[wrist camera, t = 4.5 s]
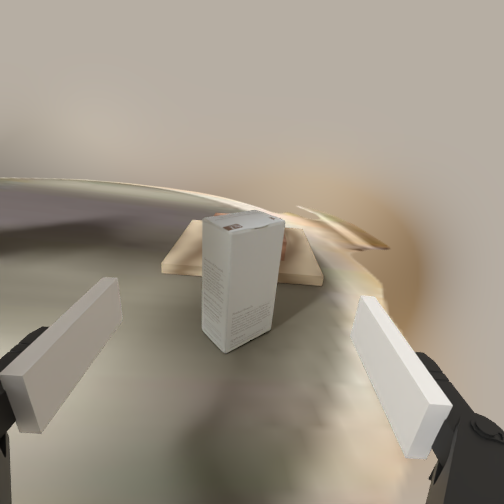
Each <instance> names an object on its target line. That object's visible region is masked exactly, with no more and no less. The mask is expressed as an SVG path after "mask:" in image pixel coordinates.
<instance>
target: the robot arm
mask: <svg viewBox="0 0 504 504" xmlns="http://www.w3.org/2000/svg"><path fill="white" fill-rule="evenodd" d="M122 321H123V316H122V308H121V300H120V292H119V284H118V278H113V277H103V278H102V279H100V280H99V281H98V282H97V283H96V284H95V285H94V286H93V287H92V288H91V289H90V290H89V291H88V292H86V293H85V294H84V295H83V296H82V297H81V298H80V299H79V300H78V301H77V302H76V303H75V304H74V305H72V306H71V307H70V308H69V309H68V310H67V311H66V312H65V313H64V314H63V315H62V316H61V317H60V318H58V319H57V320H56V321H55V322H54V323H53V324H52V325H51V326H50V327H41V328H39V329H37V330H35V331H33V332H32V333H30V334H28V335H27V336H26V337H25V338H24V339H23V340H21V341H20V342H19V344H18V345H16V346H15V347H14V348H12V349H11V350H10V352H8V353H7V354H6V355H4V356H3V357H2V358H1V359H0V504H12V502H11V475H10V449H9V436H8V434H7V431H8V429H9V428H10V427H11V426H12V425H13V424H14V422H15V421H16V424H17V426H18V429H19V432H21V433H36V434H42V432H43V431H44V429H45V428H46V427H47V425H48V424H49V422H50V421H51V420H52V418H53V417H54V415H55V414H56V413H57V411H58V410H59V409H60V407H61V406H62V404H63V403H64V402H65V400H66V399H67V397H68V396H69V395H70V393H71V392H72V390H73V389H74V388H75V386H76V385H77V384H78V382H79V381H80V379H81V378H82V377H83V375H84V374H85V372H86V371H87V370H88V368H89V367H90V365H91V364H92V363H93V361H94V360H95V359H96V357H97V356H98V354H99V353H100V352H101V350H102V349H103V347H104V346H105V345H106V343H107V342H108V340H109V339H110V338H111V336H112V335H113V334H114V332H115V331H116V329H117V328H118V327H119V325H120V324H121V322H122ZM350 337H351V340H352V342H353V344H354V346H355V348H356V351H357V353H358V355H359V357H360V359H361V362H362V364H363V366H364V368H365V370H366V373H367V375H368V377H369V379H370V381H371V383H372V386H373V388H374V390H375V392H376V394H377V397H378V399H379V401H380V403H381V405H382V408H383V410H384V412H385V414H386V416H387V419H388V421H389V423H390V425H391V427H392V430H393V432H394V434H395V436H396V438H397V441H398V443H399V445H400V447H401V449H402V451H403V454H404V456H405V458H413V459H427V457H428V455H429V453H430V451H431V449H433V451H434V453H435V455H436V457H437V458H438V461H437V464H436V465H435V467H434V469H433V471H432V473H431V475H430V477H429V480H431V485H430V489H429V493H428V497H427V501H426V504H504V431H503V430H502V429H501V428H500V427H499V426H497V425H496V424H495V423H494V422H492V421H491V420H489V419H488V418H486V417H484V416H482V415H479V414H477V413H474V412H473V410H472V409H471V408H470V407H469V405H468V404H467V403H466V402H465V400H464V399H463V398H462V396H461V395H460V394H459V393H458V391H457V390H456V389H455V387H454V386H453V385H452V383H451V382H449V380H448V378H447V377H446V376H445V374H443V373H442V371H441V369H440V368H439V367H438V365H437V364H436V363H435V362H434V361H433V360H432V359H431V358H429V357H428V356H427V355H426V354H424V353H421V352H414V351H413V349H412V348H411V347H410V345H409V344H408V342H407V341H406V340H405V338H404V337H403V335H402V334H401V333H400V331H399V330H398V328H397V327H396V326H395V324H394V323H393V321H392V320H391V319H390V317H389V316H388V314H387V313H386V312H385V310H384V309H383V308H382V306H381V305H380V303H379V302H378V301H377V299H376V298H375V297H374V296H360V300H359V304H358V308H357V311H356V315H355V319H354V323H353V327H352V331H351V335H350Z"/></svg>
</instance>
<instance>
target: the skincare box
mask: <svg viewBox="0 0 504 504" xmlns="http://www.w3.org/2000/svg"><path fill="white" fill-rule="evenodd" d="M284 229H285V221H284V220H282V219H280V218H278V217H275V216H272V215H269V214H266V213H264V212H260V211H257V210H251V211H245V212H238V213H232V214H226V215H219V216H213V217H206V218H203V220H202V330H203V332H204V333H205V334H206V335H207V336H208V337H209V338H210V339H211V341H212V342H213V343H214V344H215V345H216V346H217V347H218V348H219V349H220V350H221V351H222V352H224V353H228V352H230V351H232V350H233V349H235V348H237V347H239V346H241V345H243V344H245V343H246V342H248V341H250V340H252V339H254V338H256V337H258V336H260V335H262V334H263V333H265V332H267V331H269V330H270V329H271V325H272V318H273V310H274V303H275V295H276V288H277V281H278V273H279V266H280V259H281V251H282V244H283V237H284Z"/></svg>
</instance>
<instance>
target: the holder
mask: <svg viewBox="0 0 504 504" xmlns="http://www.w3.org/2000/svg"><path fill="white" fill-rule="evenodd" d="M219 215H226V214H223V213H215V215H214V216H219ZM280 219H281V218H280ZM161 269H162V273H166V274H178V275H191V276H202V221H200V220H192V222H191V223H190V224H189V226H188V227H187V228H186V230H185V231H184V233H183V234H182V235H181V237H180V238H179V239H178V241H177V242H176V244H175V245H174V246H173V248H172V249H171V251H170V252H169V253H168V255H167V256H166V257H165V259H164V260H163V262H162V263H161ZM323 278H324V276H323V274H322V271H321V269H320V267H319V265H318V263H317V260H316V258H315V256H314V254H313V251H312V249H311V247H310V245H309V243H308V240H307V238H306V236H305V234H304V232H303V229H296V228H285V229H284V237H283V244H282V251H281V259H280V266H279V273H278V281H277V282H278V283H290V284H303V285H315V286H322V283H323Z"/></svg>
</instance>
